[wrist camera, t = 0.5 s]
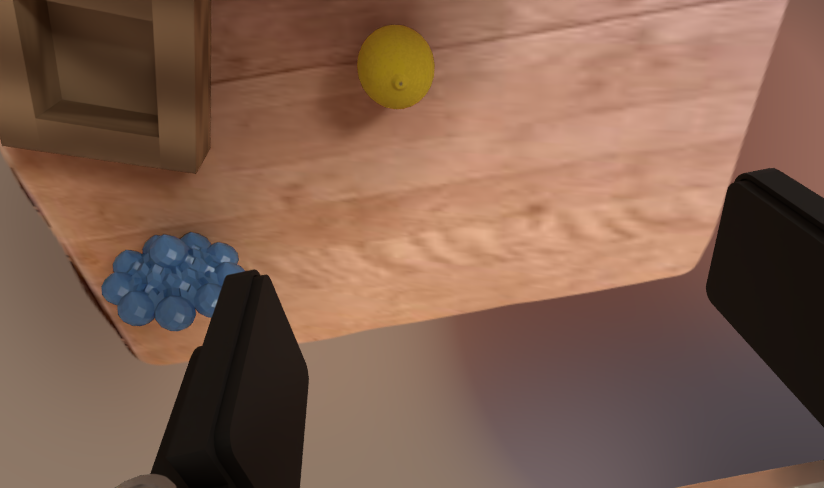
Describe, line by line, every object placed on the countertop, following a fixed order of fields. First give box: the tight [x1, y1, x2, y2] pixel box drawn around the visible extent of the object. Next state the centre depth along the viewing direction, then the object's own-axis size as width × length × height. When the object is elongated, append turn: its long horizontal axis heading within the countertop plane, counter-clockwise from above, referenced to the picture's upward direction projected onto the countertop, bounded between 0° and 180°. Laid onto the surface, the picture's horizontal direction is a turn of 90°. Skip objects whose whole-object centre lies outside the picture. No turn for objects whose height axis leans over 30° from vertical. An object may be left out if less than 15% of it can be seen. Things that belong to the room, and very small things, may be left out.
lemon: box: [357, 25, 435, 109], centre depth 36 cm, size 6×6×8 cm
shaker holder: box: [0, 0, 211, 174], centre depth 36 cm, size 13×13×5 cm
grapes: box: [102, 232, 245, 331], centre depth 42 cm, size 12×7×12 cm, turn 89°
